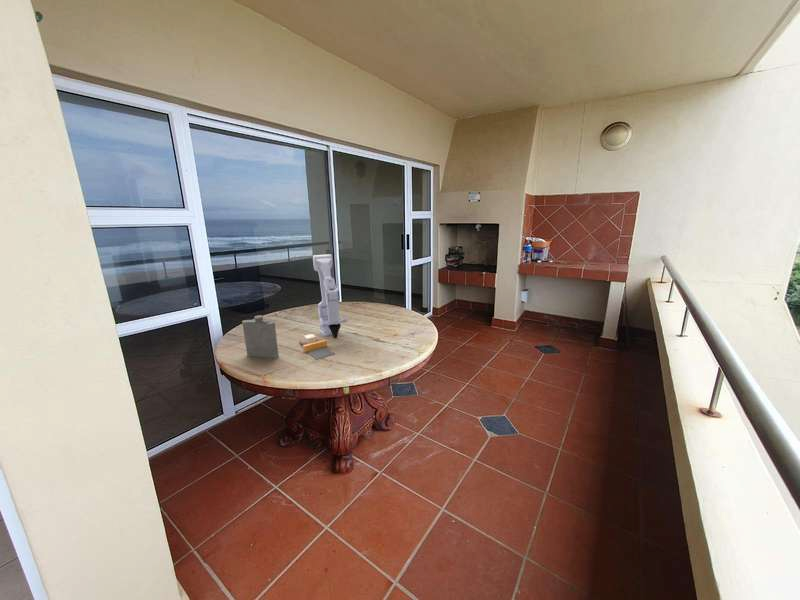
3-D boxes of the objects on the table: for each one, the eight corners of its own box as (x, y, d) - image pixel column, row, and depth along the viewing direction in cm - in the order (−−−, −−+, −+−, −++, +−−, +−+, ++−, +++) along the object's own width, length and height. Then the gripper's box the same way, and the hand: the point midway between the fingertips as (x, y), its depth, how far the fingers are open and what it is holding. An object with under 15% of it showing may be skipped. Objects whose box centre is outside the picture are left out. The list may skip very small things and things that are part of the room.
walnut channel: (299, 343, 167) (299, 340, 167) (314, 339, 172) (314, 336, 172) (306, 350, 160) (306, 346, 159) (322, 345, 165) (322, 342, 164)
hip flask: (245, 356, 154) (239, 316, 148) (251, 352, 157) (245, 314, 152) (276, 358, 151) (271, 318, 145) (280, 354, 155) (276, 315, 149)
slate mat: (307, 352, 157) (307, 352, 157) (326, 347, 163) (326, 346, 163) (315, 360, 149) (315, 359, 149) (335, 354, 155) (335, 353, 155)
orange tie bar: (303, 351, 158) (302, 345, 158) (325, 344, 165) (325, 339, 165) (304, 352, 157) (304, 346, 156) (327, 345, 164) (326, 340, 163)
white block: (304, 344, 166) (304, 335, 165) (313, 342, 169) (312, 333, 168) (308, 347, 163) (307, 338, 162) (316, 345, 166) (315, 336, 164)
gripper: (323, 317, 156) (325, 343, 159) (349, 311, 164) (351, 336, 168) (317, 313, 161) (319, 338, 165) (343, 308, 170) (344, 332, 173)
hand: (335, 337), depth 167 cm, fingers closed
